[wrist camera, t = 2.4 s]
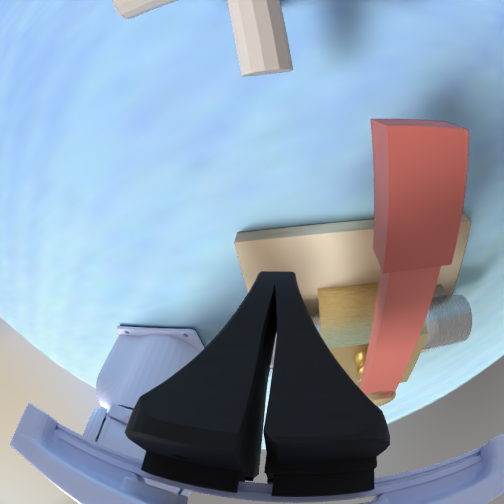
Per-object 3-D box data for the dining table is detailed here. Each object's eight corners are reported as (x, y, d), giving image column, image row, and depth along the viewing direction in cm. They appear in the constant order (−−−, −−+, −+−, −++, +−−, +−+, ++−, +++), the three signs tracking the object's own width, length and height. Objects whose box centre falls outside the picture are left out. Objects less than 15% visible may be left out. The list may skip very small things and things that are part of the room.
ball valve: (261, 337, 22) (252, 406, 17) (248, 288, 19) (233, 366, 14) (439, 317, 19) (463, 378, 14) (456, 266, 16) (493, 330, 11)
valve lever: (389, 388, 14) (392, 406, 13) (351, 394, 15) (353, 413, 14) (444, 121, 6) (468, 129, 5) (370, 118, 6) (386, 126, 5)
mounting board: (269, 358, 25) (268, 368, 24) (237, 232, 18) (234, 242, 17) (426, 341, 22) (429, 350, 21) (463, 212, 14) (471, 220, 13)
